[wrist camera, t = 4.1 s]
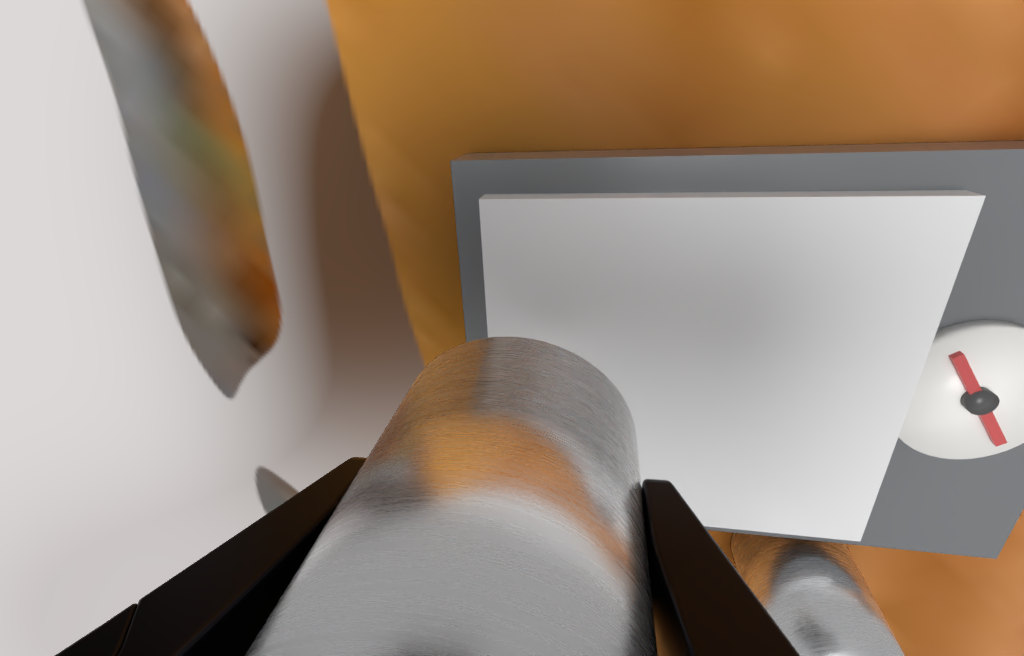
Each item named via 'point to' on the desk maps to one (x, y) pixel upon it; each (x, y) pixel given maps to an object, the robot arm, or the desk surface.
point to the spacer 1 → (484, 522)
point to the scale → (781, 323)
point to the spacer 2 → (814, 595)
